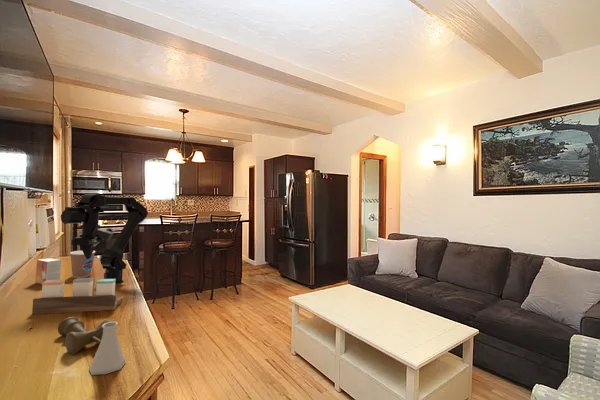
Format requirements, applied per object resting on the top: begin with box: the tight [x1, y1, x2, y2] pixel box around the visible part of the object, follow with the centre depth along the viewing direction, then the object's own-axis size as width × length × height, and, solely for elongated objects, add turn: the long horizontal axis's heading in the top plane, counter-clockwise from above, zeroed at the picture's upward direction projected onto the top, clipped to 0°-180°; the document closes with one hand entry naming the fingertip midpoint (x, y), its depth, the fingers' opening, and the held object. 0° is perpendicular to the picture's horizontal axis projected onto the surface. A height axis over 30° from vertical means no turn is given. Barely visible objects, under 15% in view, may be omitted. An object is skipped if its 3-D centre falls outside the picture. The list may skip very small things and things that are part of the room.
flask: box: [89, 321, 126, 376], centre depth 68 cm, size 7×7×10 cm
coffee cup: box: [69, 250, 96, 279], centre depth 144 cm, size 10×10×12 cm
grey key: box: [72, 277, 95, 296], centre depth 104 cm, size 3×5×8 cm, turn 106°
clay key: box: [41, 279, 66, 298], centre depth 100 cm, size 3×5×8 cm, turn 106°
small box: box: [34, 257, 62, 285], centre depth 130 cm, size 8×6×10 cm
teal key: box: [95, 278, 116, 296], centre depth 104 cm, size 3×5×8 cm, turn 106°
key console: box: [31, 294, 123, 315], centre depth 103 cm, size 9×24×5 cm, turn 106°
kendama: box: [57, 316, 111, 356], centre depth 78 cm, size 6×10×20 cm
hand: (88, 258), depth 124 cm, fingers closed
